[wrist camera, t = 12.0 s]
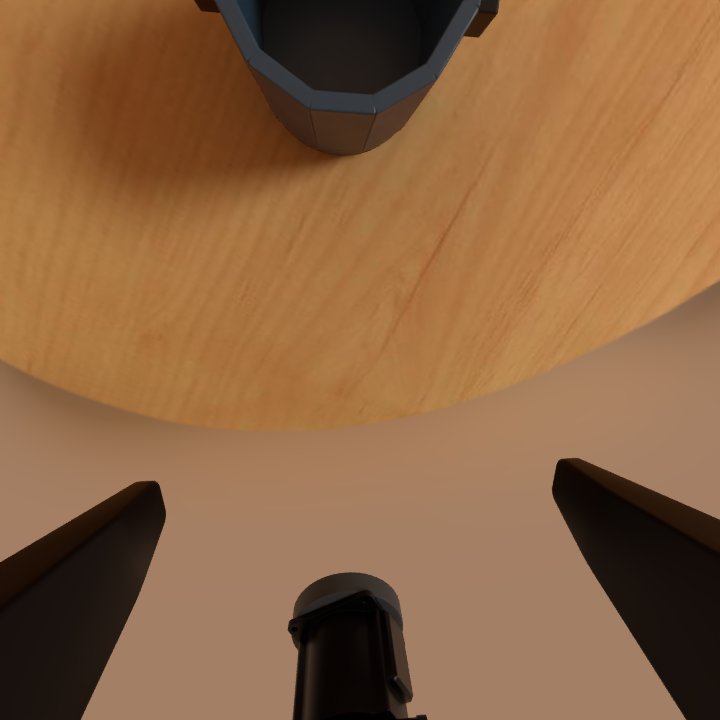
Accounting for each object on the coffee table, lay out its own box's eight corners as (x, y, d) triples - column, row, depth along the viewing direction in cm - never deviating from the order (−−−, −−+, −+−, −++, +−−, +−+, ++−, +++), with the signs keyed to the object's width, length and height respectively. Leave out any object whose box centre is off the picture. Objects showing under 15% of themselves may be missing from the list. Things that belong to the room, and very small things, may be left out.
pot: (502, 124, 11) (560, -244, 8) (171, 99, 10) (126, -313, 8) (438, 162, 17) (460, -38, 15) (235, 148, 17) (223, -65, 14)
